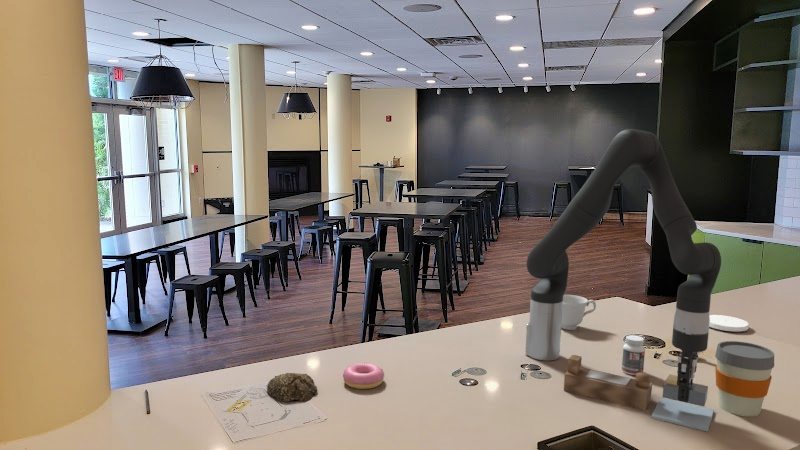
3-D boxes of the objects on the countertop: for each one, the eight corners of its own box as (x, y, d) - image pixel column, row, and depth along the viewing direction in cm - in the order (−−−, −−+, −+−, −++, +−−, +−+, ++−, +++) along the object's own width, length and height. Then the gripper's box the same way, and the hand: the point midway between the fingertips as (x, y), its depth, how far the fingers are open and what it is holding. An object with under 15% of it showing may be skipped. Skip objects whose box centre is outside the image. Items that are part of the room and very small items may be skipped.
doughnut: (365, 371, 171) (365, 357, 170) (393, 383, 163) (393, 368, 162) (334, 382, 163) (334, 367, 162) (361, 395, 155) (361, 379, 155)
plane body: (563, 390, 160) (565, 360, 159) (571, 381, 166) (573, 352, 165) (645, 410, 149) (647, 378, 148) (650, 399, 155) (653, 369, 154)
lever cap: (662, 397, 147) (664, 379, 146) (666, 390, 151) (667, 372, 150) (704, 406, 142) (706, 388, 142) (706, 399, 146) (708, 381, 146)
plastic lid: (697, 320, 224) (697, 313, 223) (738, 322, 222) (739, 316, 221) (710, 332, 210) (711, 325, 209) (754, 335, 208) (755, 328, 208)
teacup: (599, 333, 206) (601, 304, 204) (554, 332, 206) (556, 303, 205) (589, 322, 218) (591, 294, 216) (546, 321, 218) (548, 293, 217)
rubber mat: (651, 417, 145) (651, 415, 145) (660, 399, 155) (660, 397, 155) (707, 431, 139) (707, 429, 139) (713, 411, 149) (713, 409, 149)
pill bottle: (644, 376, 170) (647, 342, 168) (623, 374, 171) (625, 340, 170) (641, 369, 175) (643, 335, 174) (620, 367, 177) (622, 333, 175)
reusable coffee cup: (767, 424, 143) (775, 362, 141) (707, 411, 150) (713, 351, 147) (769, 405, 153) (776, 347, 151) (713, 393, 160) (718, 337, 158)
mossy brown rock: (264, 386, 160) (263, 368, 159) (310, 379, 165) (310, 362, 164) (274, 407, 148) (274, 387, 147) (324, 399, 153) (324, 380, 152)
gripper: (678, 317, 152) (672, 383, 155) (668, 332, 140) (662, 403, 143) (712, 322, 148) (705, 390, 151) (704, 339, 136) (698, 412, 139)
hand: (684, 396), depth 147 cm, fingers closed on lever cap, 5 cm apart
